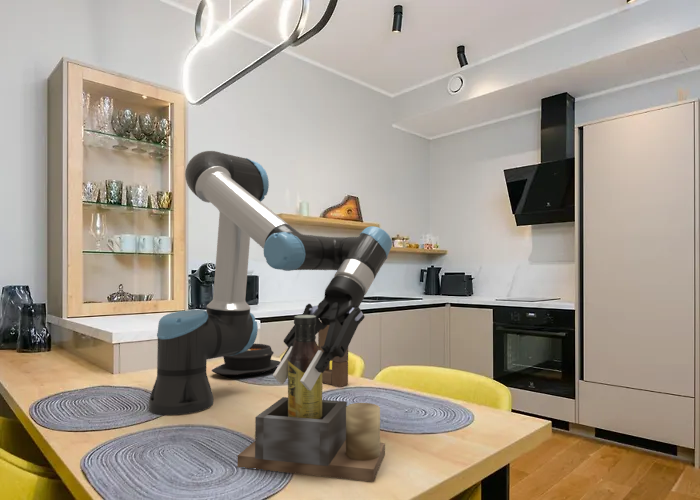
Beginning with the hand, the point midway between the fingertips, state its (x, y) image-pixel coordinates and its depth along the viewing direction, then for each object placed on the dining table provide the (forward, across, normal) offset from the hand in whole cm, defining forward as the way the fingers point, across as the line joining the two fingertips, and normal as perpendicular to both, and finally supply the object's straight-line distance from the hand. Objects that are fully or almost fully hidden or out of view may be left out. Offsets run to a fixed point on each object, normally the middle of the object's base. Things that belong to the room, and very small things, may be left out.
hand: (291, 382), depth 84 cm
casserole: (-21, +65, -42) cm, 80 cm away
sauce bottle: (+4, 0, -9) cm, 9 cm away
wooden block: (-25, +33, -46) cm, 62 cm away
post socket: (+7, -1, -13) cm, 15 cm away
